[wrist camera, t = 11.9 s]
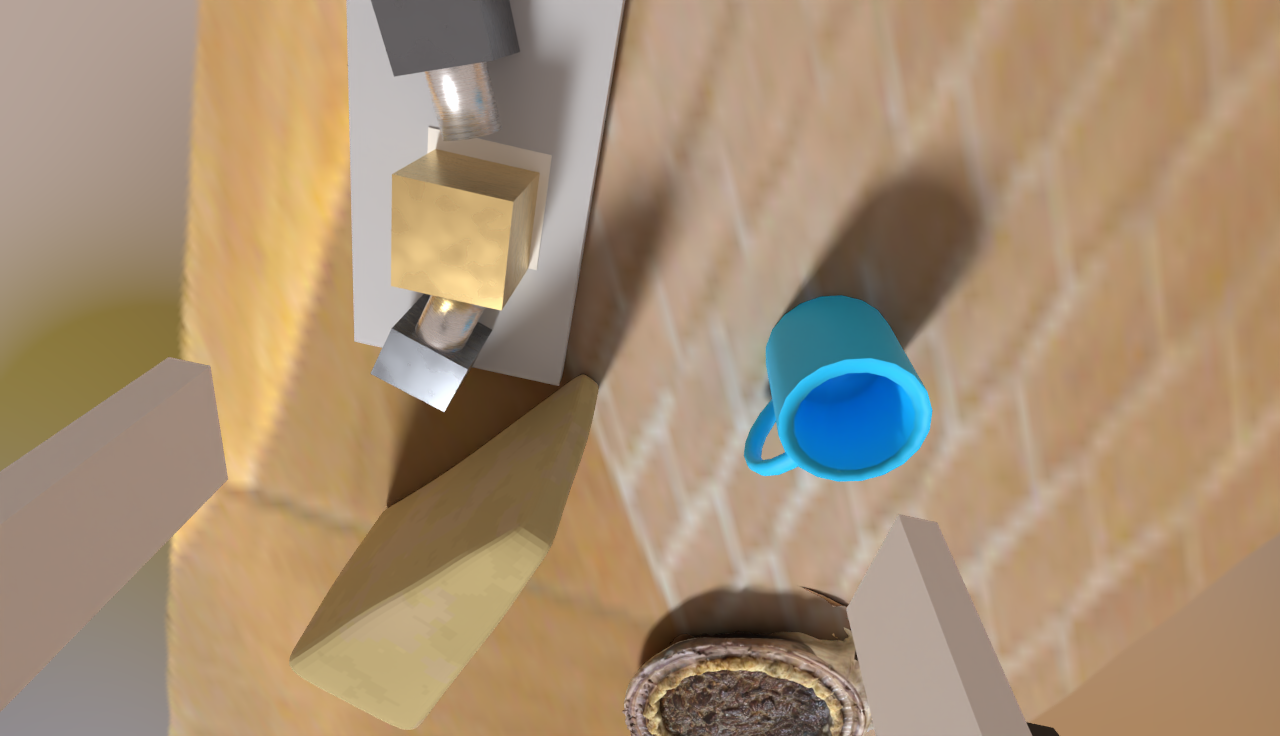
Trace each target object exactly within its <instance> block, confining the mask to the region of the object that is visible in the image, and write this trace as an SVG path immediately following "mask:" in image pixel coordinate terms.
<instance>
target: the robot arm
mask: <svg viewBox="0 0 1280 736" xmlns="http://www.w3.org/2000/svg"><path fill="white" fill-rule="evenodd" d="M227 480H228V476H227V470H226V464H225V457H224V451H223V444H222V438H221V431H220V425H219V419H218V412H217V406H216V399H215V393H214V386H213V380H212V374H211V367H210V366H208V365H203V364H199V363H194V362H189V361H185V360H180V359H175V358H170V357H168V358H167V359H165V360H164V361H162V362H161V363H159V364H158V365H156V366H155V367H153V368H152V369H151V370H149V371H148V372H146V373H145V374H143V375H142V376H140V377H139V378H137V379H136V380H134V381H133V382H131V383H130V384H129V385H127V386H125V387H124V388H123V389H121V390H120V391H118V392H117V393H115V394H114V395H112V396H111V397H109V398H108V399H107V400H105V401H103V402H102V403H101V404H99V405H98V406H96V407H95V408H93V409H92V410H90V411H89V412H87V413H86V414H84V415H83V416H82V417H80V418H78V419H77V420H75V421H74V422H72V423H71V424H70V425H68V426H67V427H65V428H64V429H62V430H61V431H59V432H58V433H56V434H55V435H53V436H52V437H51V438H49V439H47V440H46V441H44V442H43V443H42V444H40V445H39V446H37V447H36V448H34V449H33V450H31V451H30V452H28V453H27V454H25V455H24V456H22V457H21V458H19V459H18V460H17V461H15V462H14V463H12V464H11V465H9V466H8V467H6V468H5V469H3V470H2V471H0V712H1V710H3V709H4V708H5V707H6V706H7V704H8V703H9V702H10V701H11V700H12V699H13V698H14V697H15V696H16V695H17V694H18V693H19V692H20V691H21V690H22V689H23V688H24V687H25V686H26V685H27V684H28V683H29V682H30V681H31V680H32V679H33V678H34V677H35V676H36V675H37V674H38V673H39V672H40V671H41V670H42V669H43V668H44V667H45V666H46V665H47V664H48V663H49V662H50V660H51V659H53V658H54V656H55V655H56V654H57V653H58V652H59V651H60V650H61V649H62V648H63V647H64V646H65V645H66V644H67V643H68V642H69V641H70V640H71V639H72V638H73V637H74V636H75V635H76V634H77V633H78V632H79V631H80V630H81V629H82V628H83V627H84V626H85V625H86V624H87V623H88V622H89V621H90V620H91V619H92V617H94V616H95V614H97V613H98V611H100V609H101V608H102V607H103V606H104V605H105V604H106V603H107V602H108V601H109V600H110V599H111V598H112V597H113V596H114V595H115V594H116V593H117V592H118V591H119V590H120V589H121V588H122V587H123V586H124V585H125V584H126V583H127V582H128V581H129V580H130V579H131V578H132V577H133V576H134V575H135V574H136V573H137V572H138V571H139V570H140V569H141V568H142V567H143V565H144V564H146V562H147V561H148V560H149V559H150V558H151V557H152V556H153V555H154V554H155V553H156V552H157V551H158V550H159V549H160V548H161V547H162V546H163V545H164V544H165V543H166V542H167V541H168V540H169V539H170V538H171V537H172V536H173V535H174V534H175V533H176V532H177V531H178V530H179V529H180V528H181V527H182V526H183V525H184V524H185V523H186V522H187V521H188V520H189V519H190V518H191V517H192V515H193V514H194V513H195V512H196V511H197V510H198V509H199V508H200V507H201V506H202V505H203V504H204V503H205V502H206V501H207V500H208V499H209V498H210V497H211V496H212V495H213V494H214V493H215V492H216V491H217V490H218V489H219V488H220V487H221V486H222V485H223V484H224V483H225V482H226V481H227ZM846 610H847V615H848V619H849V623H850V627H851V632H852V636H853V640H854V644H855V649H856V653H857V657H858V661H859V666H860V670H861V674H862V678H863V683H864V687H865V691H866V695H867V700H868V704H869V708H870V713H871V717H872V721H873V725H874V730H875V734H876V736H1059V735H1058V733H1057V732H1056V731H1055V730H1054V728H1051V727H1046V726H1041V725H1037V724H1032V723H1027V722H1026V721H1025V718H1024V716H1023V714H1022V712H1021V709H1020V707H1019V705H1018V703H1017V700H1016V698H1015V696H1014V694H1013V691H1012V689H1011V687H1010V685H1009V683H1008V680H1007V678H1006V676H1005V674H1004V671H1003V669H1002V667H1001V665H1000V662H999V660H998V658H997V656H996V653H995V651H994V649H993V647H992V644H991V642H990V640H989V638H988V635H987V633H986V631H985V629H984V626H983V624H982V622H981V620H980V617H979V615H978V613H977V611H976V608H975V606H974V604H973V602H972V600H971V597H970V595H969V593H968V591H967V588H966V586H965V584H964V582H963V579H962V577H961V575H960V573H959V570H958V568H957V566H956V564H955V561H954V559H953V557H952V555H951V552H950V550H949V548H948V546H947V543H946V541H945V539H944V537H943V534H942V532H941V530H940V528H939V525H938V523H937V522H933V521H928V520H923V519H919V518H914V517H910V516H905V515H900V514H898V516H897V517H896V519H895V521H894V523H893V525H892V527H891V528H890V530H889V532H888V534H887V536H886V538H885V539H884V541H883V543H882V545H881V547H880V549H879V550H878V552H877V554H876V556H875V558H874V559H873V561H872V563H871V565H870V567H869V569H868V570H867V572H866V574H865V576H864V578H863V580H862V581H861V583H860V585H859V587H858V589H857V591H856V592H855V594H854V596H853V598H852V600H851V601H850V603H849V605H848V607H847V609H846Z"/></svg>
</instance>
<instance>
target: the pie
mask: <svg viewBox="0 0 1280 736" xmlns="http://www.w3.org/2000/svg"><path fill="white" fill-rule="evenodd" d="M805 589H806V588H805ZM806 590H808V591H810V592H812V593H813V594H815V595H817V596H820V597H822V598H824V599H825V600H826V601H828V602H829V603H830V604H831V605H832V607H836V606H841V604H839V603H837V602H835V601H834V600H832V599H829V598H827V597H825V596H824V595H821V594H818V593H816V592H814V591H811V590H809V589H806ZM843 606H844V605H843ZM846 607H847V606H846ZM847 619H848V618H847ZM843 629H844V630H845V631H846V633H847V634H848V636H849V637H848V638H845V640H844V641H841V640H837V641H836V640H835V641H829V640H819V639H816V638H815V637H812V636H809V635H807V634H803V633H800V632H778V633H772V634H764V633H760V634H757V635H756V634H752V633H751V632H739V631H736V632H733V633H729V634H715V635H709V634H702V635H699V636H695V637H693V636H691V635H689V634H682V635H680V636H677V637H676V638H674V640H673V642H671V643H670V646H669V647H668V648H666V649H663V650H662V651H661V652H660V653H658V654H656V655H655V656H653V657H652V658H651V659H649V660H648V661H647V662H646V663H644V664H643V665H642V666H641V668H640V669H639V670H638V672H637V673H636V674H635V675H634V676H633V678H632V680H631V681H630V683H629V685H628V688H627V691H626V698H625V702H624V707H625V710H623V711H622V712H623V713H625V715H626V719H625V721H626V724H627V728H628V729H629V730H630V732H631V736H865V734H866V732H869V730H870V729H872V730H873V729H874V725H873V721H872V720H871V719H872V717H871V713H870V708H869V704H868V700H867V695H866V691H865V687H864V683H863V678H862V674H861V670H860V666H859V661H857V660H855V659H854V657H855V652H856V649H855V644H854V640H853V636H852V632H851V630H849V629H847V628H843ZM832 635H833V637H835V634H832ZM835 638H837V639H839V638H838V637H835ZM724 652H725V653H724Z"/></svg>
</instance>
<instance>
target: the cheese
mask: <svg viewBox="0 0 1280 736" xmlns="http://www.w3.org/2000/svg"><path fill="white" fill-rule="evenodd" d="M598 389H599V387H598V384H597V383H596V382H595V381H593V380H592V379H591V378H589V377H588V376H587V375H579V376H577V377H576V378H574V379H573V380H571V381H570V382H568V383H567V384H565V385H564V386H563V387H561V388H560V389H559V390H557V391H556V392H555V393H553V394H552V395H551V396H549V397H548V398H547V399H545V400H544V401H543V402H541V403H540V404H539V405H537V406H536V407H534V408H533V409H532V410H530V411H529V412H528V413H526V414H525V415H524V416H522V417H521V418H520V419H518V420H517V421H516V422H514V423H513V424H512V425H510V426H509V427H508V428H506V429H505V430H504V431H502V432H501V433H500V434H498V435H497V436H496V437H494V438H493V439H492V440H490V441H489V442H488V443H486V444H485V445H483V446H482V447H481V448H479V449H478V450H477V451H475V452H474V453H473V454H471V455H470V456H468V457H467V458H466V459H464V460H463V461H461V462H460V463H458V464H457V465H456V466H454V467H453V468H451V469H450V470H448V471H447V472H445V473H444V474H442V475H441V476H439V477H438V478H436V479H435V480H433V481H432V482H430V483H429V484H427V485H425V486H424V487H422V488H421V489H419V490H417V491H416V492H414V493H412V494H411V495H409V496H407V497H406V498H404V499H402V500H401V501H399V502H397V503H396V504H394V505H392V506H391V507H389V508H387V509H386V510H385V511H384V512H383V513H382V514H381V515H380V517H379V518H378V520H377V521H376V523H375V524H374V526H373V527H372V528H371V530H370V531H369V533H368V534H367V536H366V537H365V538H364V540H363V541H362V543H361V544H360V545H359V547H358V548H357V550H356V551H355V553H354V554H353V555H352V557H351V558H350V560H349V561H348V563H347V564H346V566H345V567H344V569H343V570H342V572H341V573H340V575H339V576H338V578H337V579H336V581H335V582H334V584H333V585H332V587H331V588H330V590H329V592H328V593H327V595H326V596H325V598H324V600H323V601H322V603H321V605H320V606H319V608H318V610H317V611H316V613H315V615H314V616H313V618H312V620H311V621H310V623H309V625H308V626H307V628H306V630H305V631H304V633H303V635H302V636H301V638H300V640H299V641H298V643H297V645H296V646H295V648H294V650H293V651H292V654H291V656H290V660H289V664H290V667H291V668H292V670H293V671H294V672H295V673H296V674H297V675H299V676H300V677H302V678H303V679H304V680H306V681H308V682H310V683H311V684H313V685H315V686H317V687H319V688H321V689H322V690H324V691H326V692H328V693H330V694H332V695H334V696H336V697H338V698H340V699H342V700H343V701H345V702H347V703H349V704H351V705H353V706H355V707H357V708H359V709H361V710H363V711H365V712H366V713H368V714H370V715H372V716H374V717H376V718H378V719H380V720H382V721H384V722H386V723H388V724H390V725H392V726H395V727H398V728H401V729H405V730H411V729H415V728H416V727H418V726H419V725H420V724H421V723H422V722H423V721H424V720H425V718H426V717H427V715H428V714H429V713H430V711H431V710H432V709H433V707H434V706H435V705H436V703H437V702H438V701H439V699H440V698H441V697H442V695H443V694H444V693H445V691H446V690H447V689H448V687H449V686H450V685H451V684H452V682H453V681H454V680H455V678H456V677H457V676H458V675H459V673H460V672H461V671H462V669H463V668H464V667H465V666H466V664H467V663H468V662H469V661H470V659H471V658H472V657H473V656H474V654H475V653H476V652H477V650H478V649H479V648H480V647H481V646H482V644H483V643H484V642H485V640H486V639H487V638H488V637H489V635H490V634H491V633H492V632H493V630H494V629H495V628H496V626H497V625H498V624H499V622H500V621H501V620H502V618H503V617H504V616H505V614H506V613H507V611H508V610H509V609H510V607H511V606H512V604H513V603H514V601H515V600H516V598H517V597H518V595H519V594H520V592H521V591H522V590H523V588H524V587H525V585H526V584H527V582H528V581H529V579H530V578H531V577H532V575H533V574H534V572H535V571H536V569H537V568H538V566H539V565H540V564H541V562H542V561H543V559H544V558H545V556H546V555H547V553H548V551H549V549H550V547H551V545H552V543H553V540H554V538H555V535H556V532H557V529H558V526H559V523H560V520H561V516H562V513H563V510H564V507H565V504H566V501H567V498H568V495H569V492H570V489H571V486H572V483H573V480H574V478H575V475H576V472H577V469H578V466H579V463H580V461H581V458H582V455H583V452H584V449H585V446H586V442H587V439H588V435H589V432H590V428H591V424H592V419H593V415H594V410H595V405H596V400H597V394H598Z"/></svg>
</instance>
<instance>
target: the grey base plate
mask: <svg viewBox="0 0 1280 736" xmlns="http://www.w3.org/2000/svg"><path fill="white" fill-rule="evenodd" d="M509 1H510V6H511V11H512V15H513V20H514V25H515V29H516V34H517V39H518V44H519V48H520V52H519V53H516V54H512V55H509V56H506V57H503V58H500V59H496V60H493V61H488V62H486V63H487V67H488V71H489V75H490V79H491V84H492V88H493V92H494V96H495V100H496V105H497V109H498V113H499V117H500V121H501V126H502V130H501V131H499V132H496V133H493V134H490V135H486V136H482V137H477V138H472V139H467V140H459V141H443V138H442V135H441V131H440V128H439V124H438V120H437V117H436V113H435V110H434V106H433V103H432V99H431V96H430V92H429V89H428V85H427V82H426V78H425V74H424V72H420V73H414V74H407V75H401V76H395V77H394V75H393V72H392V68H391V65H390V62H389V59H388V55H387V52H386V49H385V45H384V42H383V39H382V35H381V32H380V29H379V26H378V22H377V19H376V16H375V12H374V9H373V6H372V3H371V0H347V39H348V82H349V125H350V168H351V211H352V254H353V297H354V340H355V342H359V343H364V344H368V345H373V346H377V347H382V348H383V346H384V344H385V341H386V339H387V337H388V335H389V333H390V331H391V329H392V327H393V326H394V325H395V324H396V323H397V322H398V321H399V320H400V319H401V318H402V317H403V316H404V314H405V313H406V312H407V311H408V310H409V309H410V308H411V307H412V306H413V305H414V304H415V303H416V302H417V301H418V299H419V298H420V297H421V296H422V295H423V294H424V293H420V292H415V291H411V290H406V289H402V288H397V287H393V286H391V218H392V174H393V173H395V172H397V171H398V170H400V169H402V168H404V167H405V166H407V165H409V164H410V163H412V162H414V161H416V160H417V159H419V158H421V157H423V156H424V155H426V154H428V153H429V152H431V151H433V150H435V149H438V150H443V151H447V152H451V153H456V154H460V155H465V156H469V157H473V158H478V159H482V160H486V161H491V162H495V163H500V164H504V165H508V166H513V167H517V168H521V169H526V170H530V171H535V172H539V173H540V175H539V183H538V191H537V199H536V208H535V216H534V224H533V232H532V240H531V248H530V256H529V264H528V270H527V272H526V273H525V275H524V276H523V278H522V280H521V281H520V283H519V284H518V286H517V287H516V289H515V291H514V292H513V294H512V295H511V297H510V298H509V300H508V302H507V303H506V305H505V306H504V308H503V309H502V311H501V310H497V309H492V308H488V307H485V309H484V311H483V313H482V315H481V316H480V318H479V320H478V322H479V323H481V324H483V325H485V326H487V327H488V328H490V329H492V332H491V334H490V336H489V337H488V339H487V341H486V343H485V345H484V346H483V348H482V350H481V352H480V354H479V355H478V357H477V359H476V361H475V362H474V364H473V366H472V367H474V368H478V369H483V370H488V371H492V372H497V373H501V374H506V375H511V376H515V377H520V378H524V379H529V380H534V381H538V382H543V383H547V384H552V385H557V386H559V384H560V382H561V379H562V375H563V369H564V363H565V357H566V351H567V345H568V339H569V334H570V328H571V322H572V316H573V310H574V304H575V298H576V292H577V286H578V280H579V274H580V268H581V262H582V256H583V250H584V244H585V238H586V232H587V226H588V220H589V214H590V208H591V202H592V196H593V190H594V185H595V179H596V173H597V167H598V161H599V155H600V149H601V143H602V137H603V131H604V125H605V119H606V113H607V107H608V101H609V95H610V89H611V83H612V77H613V71H614V65H615V59H616V53H617V47H618V41H619V36H620V30H621V24H622V18H623V12H624V6H625V0H509Z"/></svg>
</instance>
